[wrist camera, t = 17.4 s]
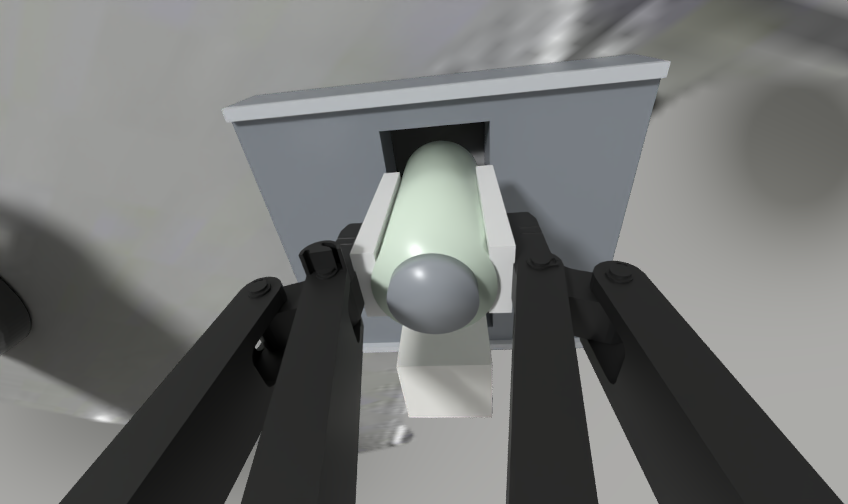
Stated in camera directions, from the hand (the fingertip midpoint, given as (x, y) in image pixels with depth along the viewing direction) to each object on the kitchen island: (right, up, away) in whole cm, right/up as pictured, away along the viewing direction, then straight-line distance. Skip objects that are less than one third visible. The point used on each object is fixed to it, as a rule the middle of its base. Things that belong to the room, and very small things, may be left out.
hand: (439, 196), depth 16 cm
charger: (+1, -4, +9) cm, 10 cm away
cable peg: (0, +1, +2) cm, 2 cm away
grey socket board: (+1, -1, +7) cm, 7 cm away
